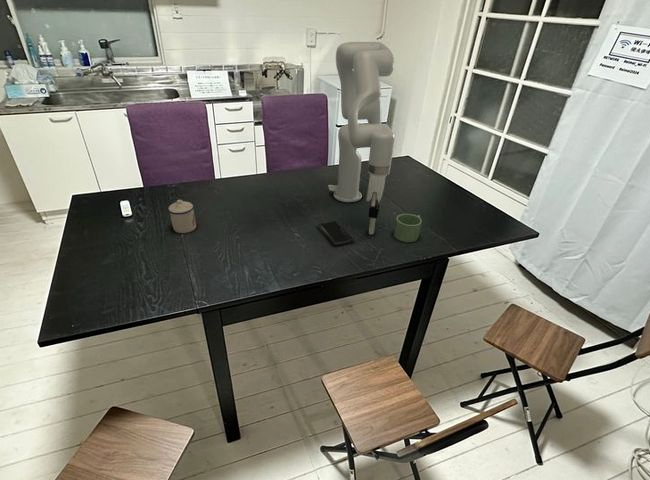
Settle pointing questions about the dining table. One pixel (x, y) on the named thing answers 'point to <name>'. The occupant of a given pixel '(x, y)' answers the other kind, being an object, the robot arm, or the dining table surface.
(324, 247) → the dining table surface
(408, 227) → the mug
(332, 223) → the phone
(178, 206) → the teacup with lid
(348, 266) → the dining table surface
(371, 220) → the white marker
